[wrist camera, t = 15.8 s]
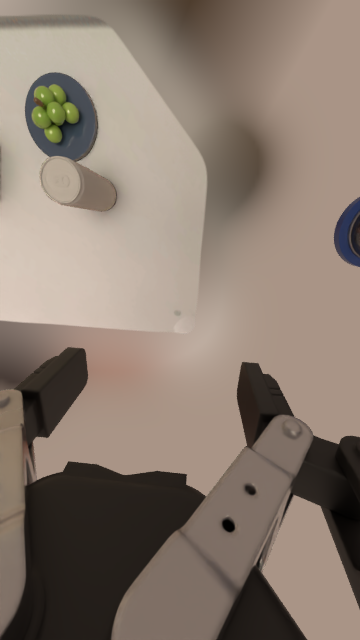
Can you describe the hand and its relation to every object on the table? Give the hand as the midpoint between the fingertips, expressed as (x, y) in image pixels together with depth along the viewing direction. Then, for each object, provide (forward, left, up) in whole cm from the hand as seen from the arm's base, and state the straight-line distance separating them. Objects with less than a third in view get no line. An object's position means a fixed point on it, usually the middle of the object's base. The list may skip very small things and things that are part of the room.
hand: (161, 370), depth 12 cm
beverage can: (+14, -11, -30) cm, 35 cm away
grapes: (+19, -20, -30) cm, 41 cm away
